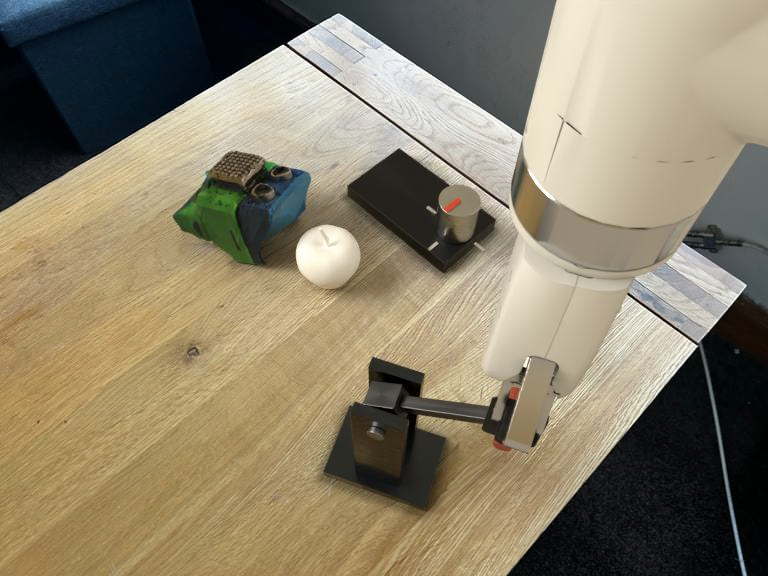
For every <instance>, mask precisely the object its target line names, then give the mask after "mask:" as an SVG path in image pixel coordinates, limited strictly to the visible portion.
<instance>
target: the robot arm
mask: <svg viewBox="0 0 768 576" xmlns="http://www.w3.org/2000/svg"><path fill="white" fill-rule="evenodd" d="M543 49H544V50H543V53H542V58H541V62H540V66H539V69H538V74H537V77H536V80H535V85H534V90H533V94H532V97H531V101H530V106H529V109H528V114H527V117H526V121H525V126H524V131H523V134H522V137H521V142H520V145H519V149H518V154H517V158H516V162H515V165H514V170H513V174H512V178H511V181H510V185H509V189H508V190H509V191H508V195H507V196H508V207H509V208H508V209H509V214H510V217H511V220H512V222H513V224H514V226H515V229H516V230H517V232H518V233H517V236H516V239H515V243H514V245H513V249H512V252H511V256H510V259H509V262H508V266H507V269H506V273H505V276H504V280H503V284H502V287H501V289H500V290H501V291H500V294H499V298H498V301H497V305H496V308H495V312H494V315H493V318H492V322H491V325H490V329H489V333H488V336H487V339H486V342H485V346H484V349H483V352H482V356H481V360H480V367H481V370H482V372H483V374H484V375H485V376H487V377H488V378H490V379H493V380H495V381H498V382H502V383H501V385H500V388H499V391H498V394H497V396H492V397H491V400H490V402H489V405H488V406H489V408H488V411H487V414H486V416H485V419H484V422H483V424H481V425H482V426H481V430H482V432H484V433H486V434H489V435H492V436H494V437H493V441H494V440H495V441H496V442H498V443H499V444H502V445H503V446H506V447H509V448H512V449H511V450H516V451H518V452H521V453H524V454H526V455H528V454H529V453H530V450H531V448H535V447H536V446H537V443H538V442H539V440H540V439H541V437H542V435H543V433H544V432H545V430H546V428H547V426H548V425H549V421H550V417H551V416H550V413H551V411H552V408H553V405H554V402H555V399H557V400H560V399H563V398H565V397H568V396H570V395H571V394H572V393H573V392H574V391H575V390H576V389H577V387H578V386H579V384H580V383H581V381H582V380H583V378H584V377H585V375H586V373H587V372H588V370H589V368H590V366H591V365H592V363H593V361H594V360H595V357H596V356H597V354H598V352H599V351H600V348H601V346H602V344H603V343H604V342H605V339H606V337H607V336H608V333H609V331H610V329H611V327H612V326H613V323H614V321H615V320H616V317H617V316H618V314H619V313H621V311H622V308H623V304H624V301H626V298H627V295H628V293H629V291H630V290H631V288H632V285H633V283H634V281H635V279H636V277H639V276H642V275H645V274H648V273H650V272H653V271H655V270H657V269H658V268H660V267H662V266H663V265H664V264H666V263H667V262H668V261H669V260H670V259H671V258H672V257H673V256H674V255H675V254H676V252H677V251H678V250H679V248H680V247H681V244H683V242H684V240H685V239H686V237H687V236H688V235H689V233H690V232H691V229H692V228H693V226H694V225H695V223H696V222H697V220H698V219H699V217H700V216H701V214H702V213H703V211H704V209H705V208H706V206H707V205H708V203H709V202H710V200H711V199H712V197H713V195H714V193H715V192H716V190H717V189H718V187H719V186H720V184H721V183H722V182H723V180H724V178H725V176H726V175H727V174H728V172H729V171H730V170H731V167H732V166H733V165H734V163H735V162H736V160H737V159H738V157H739V155H740V154H741V152H743V149H744V147H745V146H747V144H754V145H759V146H762V147H765V148H768V0H556V1H555V4H554V8H553V13H552V17H551V21H550V26H549V30H548V33H547V38H546V42H545V45H544V48H543ZM527 357H529V360H528V363H527V366H526V367H523V365H524V363H525V361H526V358H527ZM514 384H516V385H519V388H520V389H519V392H518V395H517V399H516V400H514V399H511V398H509V395H510V392H511V389H512V387H514Z"/></svg>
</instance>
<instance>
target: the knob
mask: <svg viewBox="0 0 768 576" xmlns="http://www.w3.org/2000/svg"><path fill="white" fill-rule="evenodd" d="M481 202H482V201H481V197H480V195H479V193H478V192H477V191H476V190H475V189H473V188H472V187H470V186H468V185H465V184H452V185H450V186H449V187H447V188H445V189H444V190H443V191H442V192H441V193H440V195H439V200H438V208H437V216H436V224H435V230H436V233H437V235H438V236H439V237H440V238H441V239H442V240H443V241H445V242H447V243H451V244H462V243H465V242H467V241H469V240H470V239H471V238H472V237H473V235H474V233H475V228H476V223H477V219H478V214H479V209H480V207H481Z"/></svg>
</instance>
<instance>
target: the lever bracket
mask: <svg viewBox="0 0 768 576" xmlns="http://www.w3.org/2000/svg"><path fill="white" fill-rule="evenodd" d="M367 372H368V373H367V374H368V375H367V376H368V387H369V386H370V384H371V381H379V382H388V383H396V384H402V385H403V386H404V388H405V389H406V390H407V392H408V393H409V395H410V396H415V397H422V398H423V392H424V385H425V379H426V373H424V372H422V371H419V370H416V369H412V368H410V367H406V366H403V365H400V364H397V363H394V362H391V361H388V360H385V359H381V358H378V357H375V356H372V357H371V358H370V361H369V363H368V366H367ZM419 418H420V415H415V414H407V417H406V418H403V417H400V416H397V415H394V414H391V413H388V412H385V411H382V410H379V409H376V408H373V407H370V406H367V405H364V404H363V403H361V402H358V401H353V404H352V405H349V407H348V408H347V412H346V413H345V416H344V419H343V421H342V424H341V426H340V428H339V431H338V434H337V436H336V439H335V441H334V443H333V446H332V449H331V451H330V453H329V456H328V459H327V461H326V463H325V466H324V468H323V470H322V472H323V475H324V476H325V477H328V478H331V479H334V480H337V481H339V482H342V483H346V484H348V485H351V486H353V487H357V488H359V489H361V490H365V491H368V492H370V493H373V494H376V495H379V496H381V497H383V498H384V497H385V498H387V499H389V500H393V501H396V502H398V503H400V504H404V505H407V506H409V507H412V508H414V509H418V510H421V511H425V510H426V506H427V503H428V500H429V496H430V493H431V491H432V487H433V483H434V480H435V478H436V474H437V471H438V469H439V464H440V461H441V458H442V455H443V451H444V448H445V446H446V442H447V437H446V436H442V435H439V434H436V433H433V432H430V431H427V430H425V429H422V428H418V426H419Z"/></svg>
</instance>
